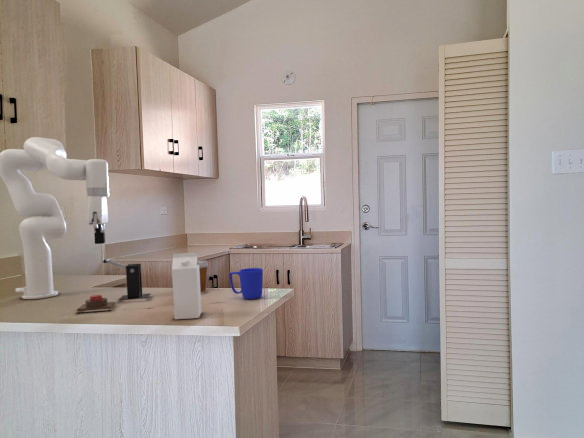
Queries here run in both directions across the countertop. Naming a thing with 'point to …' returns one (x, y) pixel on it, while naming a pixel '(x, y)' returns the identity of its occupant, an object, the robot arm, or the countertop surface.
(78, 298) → the countertop surface
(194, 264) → the milk carton
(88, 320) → the countertop surface
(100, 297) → the button
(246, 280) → the mug
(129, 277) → the black lever base
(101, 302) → the button block
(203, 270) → the disposable coffee cup
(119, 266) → the lever
